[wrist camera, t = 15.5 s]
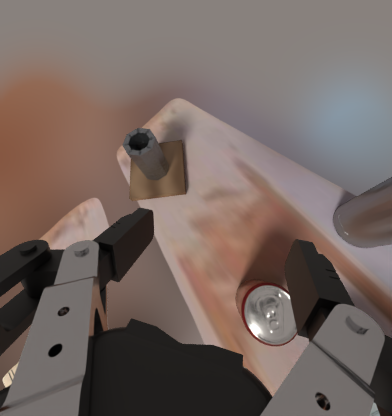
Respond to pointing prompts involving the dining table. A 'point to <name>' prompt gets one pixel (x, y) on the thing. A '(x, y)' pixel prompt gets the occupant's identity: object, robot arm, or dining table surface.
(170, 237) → the dining table surface
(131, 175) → the stand
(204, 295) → the dining table surface
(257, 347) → the dining table surface
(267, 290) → the soda can
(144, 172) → the sleeve
